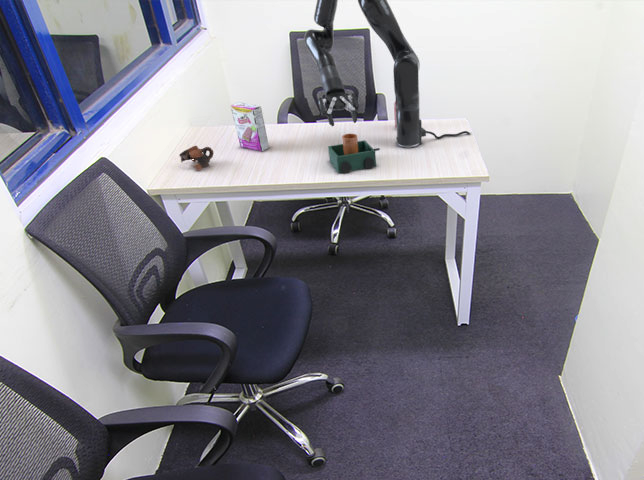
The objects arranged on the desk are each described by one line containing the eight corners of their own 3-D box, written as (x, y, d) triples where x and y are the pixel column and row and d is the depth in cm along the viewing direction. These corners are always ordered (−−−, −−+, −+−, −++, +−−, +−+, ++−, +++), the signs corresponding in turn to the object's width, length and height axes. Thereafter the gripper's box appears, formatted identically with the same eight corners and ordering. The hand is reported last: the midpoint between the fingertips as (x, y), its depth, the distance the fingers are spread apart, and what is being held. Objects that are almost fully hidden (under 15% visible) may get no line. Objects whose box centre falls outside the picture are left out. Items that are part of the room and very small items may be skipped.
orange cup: (356, 157, 194) (354, 132, 188) (361, 162, 191) (359, 137, 184) (343, 160, 193) (340, 134, 187) (347, 165, 189) (344, 139, 183)
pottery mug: (191, 175, 187) (176, 154, 184) (190, 177, 195) (177, 157, 192) (220, 159, 190) (206, 138, 187) (218, 162, 198) (205, 142, 195)
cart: (366, 155, 198) (364, 140, 195) (376, 166, 190) (375, 150, 186) (329, 161, 194) (327, 146, 190) (338, 173, 186) (336, 157, 182)
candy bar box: (239, 148, 205) (229, 105, 195) (247, 143, 209) (238, 101, 198) (262, 152, 202) (253, 109, 191) (270, 147, 205) (261, 105, 194)
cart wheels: (374, 152, 200) (373, 141, 198) (386, 165, 191) (386, 154, 188) (331, 160, 195) (329, 149, 192) (341, 174, 185) (340, 162, 183)
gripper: (313, 78, 183) (326, 121, 182) (351, 74, 187) (364, 115, 187) (312, 90, 190) (324, 131, 190) (348, 85, 194) (360, 125, 194)
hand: (344, 123), depth 188 cm, fingers open, 8 cm apart
